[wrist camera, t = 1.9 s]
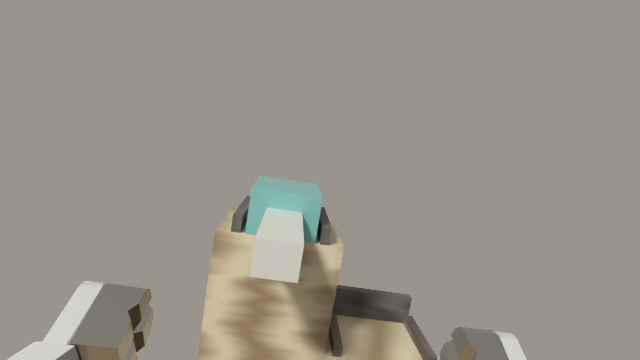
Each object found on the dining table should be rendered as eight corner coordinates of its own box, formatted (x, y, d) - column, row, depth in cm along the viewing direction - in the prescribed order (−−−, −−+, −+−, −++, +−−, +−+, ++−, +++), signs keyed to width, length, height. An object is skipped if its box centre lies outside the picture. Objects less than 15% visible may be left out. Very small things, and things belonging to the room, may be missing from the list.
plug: (311, 221, 40) (317, 184, 40) (321, 286, 23) (332, 224, 23) (255, 213, 40) (260, 175, 39) (224, 273, 23) (233, 209, 23)
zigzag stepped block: (384, 460, 46) (433, 223, 42) (405, 540, 37) (469, 248, 33) (200, 442, 44) (235, 194, 40) (175, 521, 35) (217, 211, 32)
